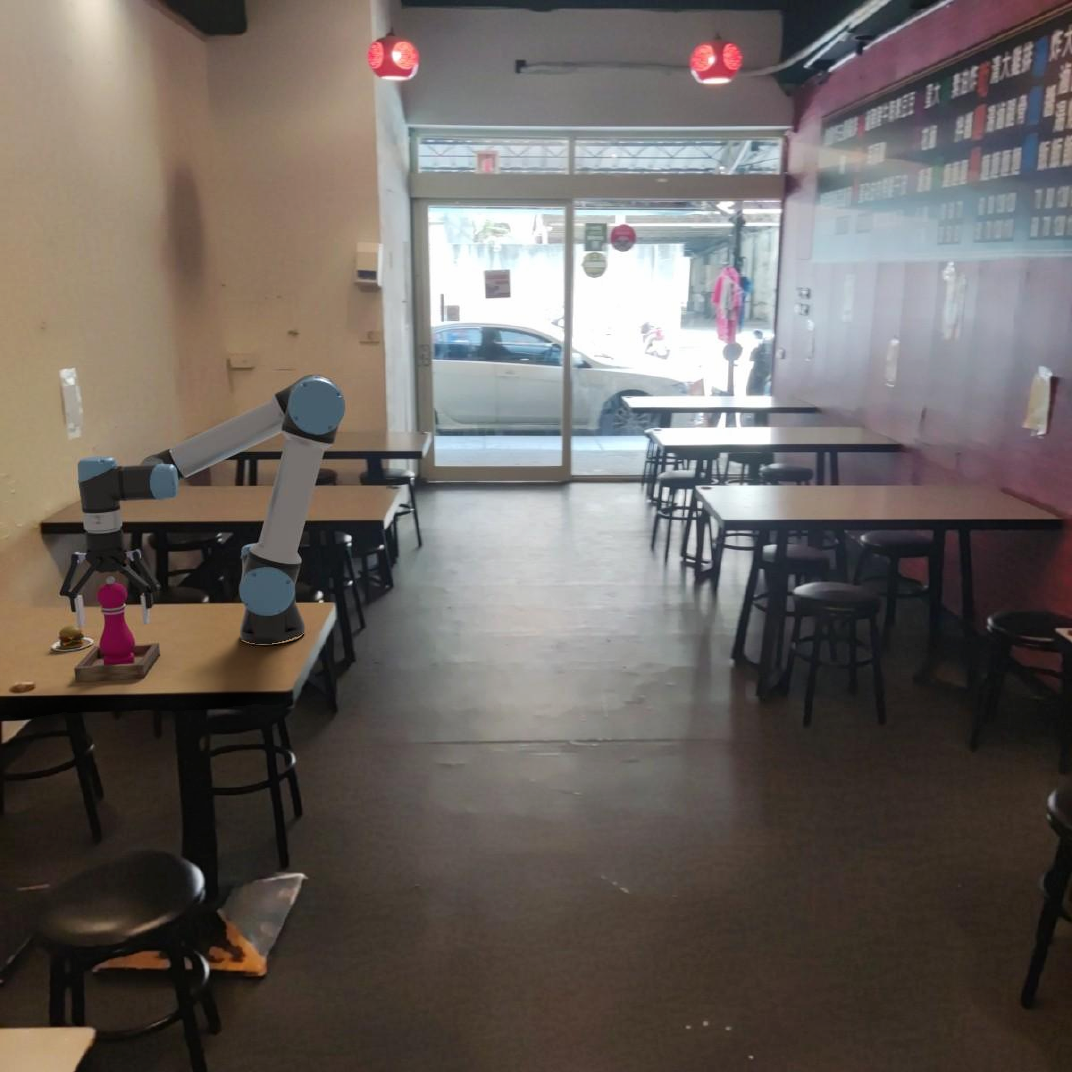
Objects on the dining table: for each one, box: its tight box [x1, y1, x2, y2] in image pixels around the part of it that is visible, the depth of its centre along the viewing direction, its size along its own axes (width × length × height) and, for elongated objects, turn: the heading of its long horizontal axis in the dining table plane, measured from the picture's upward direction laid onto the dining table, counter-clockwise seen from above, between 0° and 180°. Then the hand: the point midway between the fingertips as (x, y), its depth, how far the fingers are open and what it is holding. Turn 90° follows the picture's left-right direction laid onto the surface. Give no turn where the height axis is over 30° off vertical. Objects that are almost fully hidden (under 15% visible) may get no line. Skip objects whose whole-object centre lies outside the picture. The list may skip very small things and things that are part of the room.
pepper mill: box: [96, 576, 136, 665], centre depth 209 cm, size 7×7×20 cm
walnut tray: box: [73, 642, 161, 683], centre depth 211 cm, size 14×14×3 cm
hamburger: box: [51, 625, 94, 652], centre depth 226 cm, size 12×12×6 cm
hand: (114, 624), depth 209 cm, fingers open, 13 cm apart
